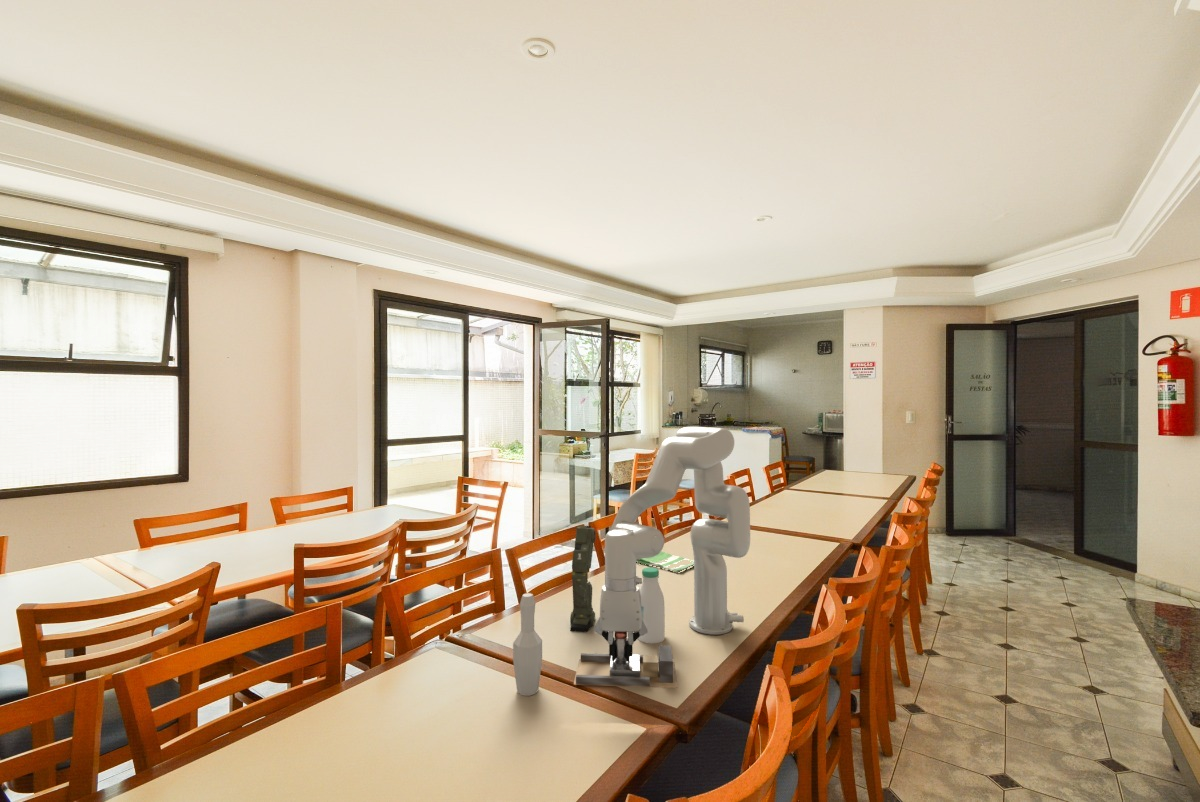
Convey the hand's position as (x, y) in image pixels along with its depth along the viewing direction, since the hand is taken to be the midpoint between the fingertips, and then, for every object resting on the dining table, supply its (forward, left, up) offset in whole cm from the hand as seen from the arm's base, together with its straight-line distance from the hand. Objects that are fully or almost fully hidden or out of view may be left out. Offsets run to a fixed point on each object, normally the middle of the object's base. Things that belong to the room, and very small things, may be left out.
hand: (620, 658), depth 127 cm
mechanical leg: (+12, -31, -5) cm, 34 cm away
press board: (-1, 0, -5) cm, 5 cm away
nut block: (-7, 0, -3) cm, 8 cm away
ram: (-1, 0, -3) cm, 3 cm away
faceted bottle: (+21, +7, -5) cm, 23 cm away
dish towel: (-17, -93, -5) cm, 94 cm away
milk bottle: (-8, -20, -5) cm, 22 cm away
